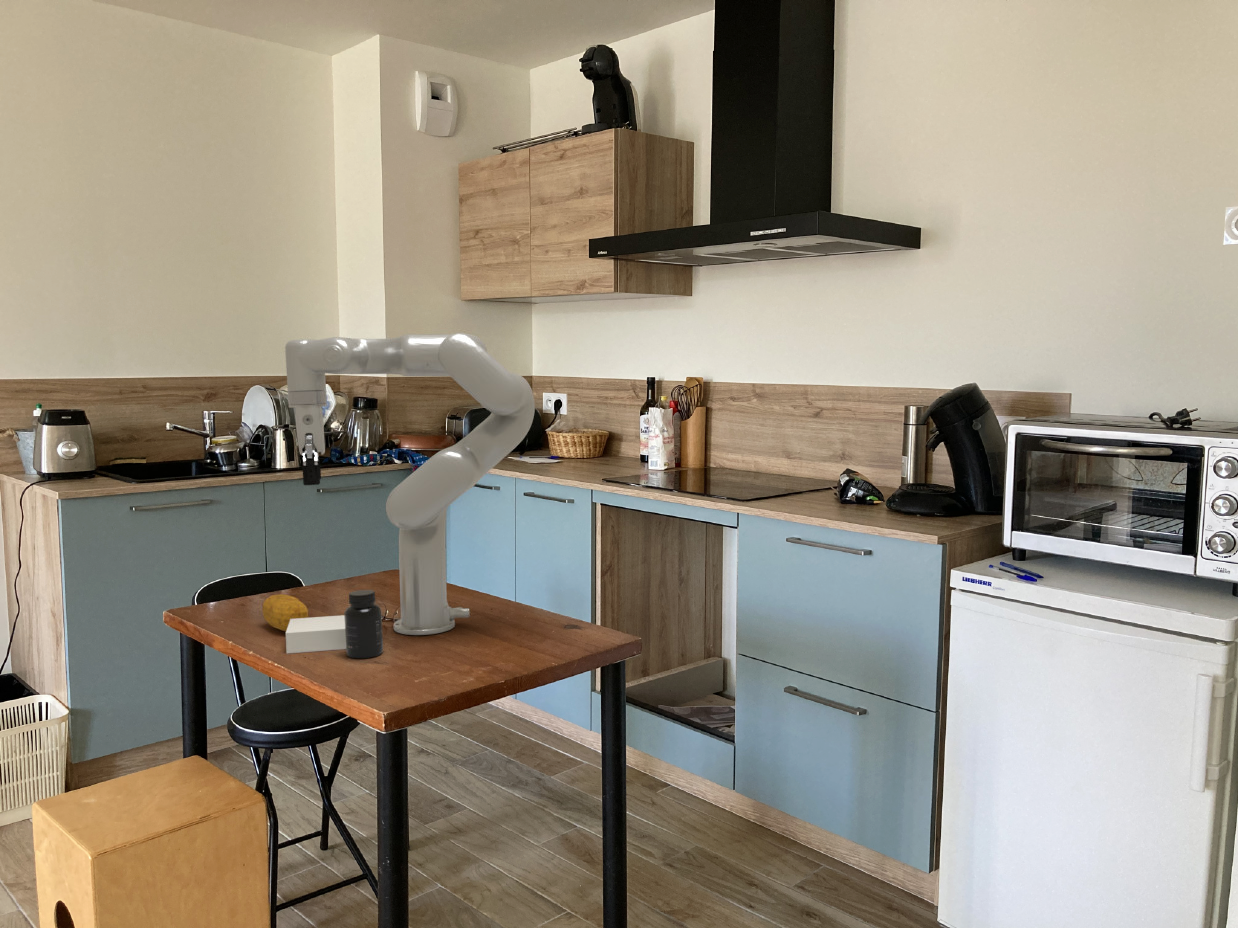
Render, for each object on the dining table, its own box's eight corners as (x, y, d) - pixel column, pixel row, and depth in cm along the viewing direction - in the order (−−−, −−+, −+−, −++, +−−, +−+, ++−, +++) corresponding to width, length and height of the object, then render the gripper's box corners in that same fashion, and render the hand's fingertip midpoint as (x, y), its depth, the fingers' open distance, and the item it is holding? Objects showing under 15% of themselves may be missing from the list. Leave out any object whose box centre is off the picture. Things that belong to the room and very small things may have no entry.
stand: (347, 634, 196) (347, 614, 195) (346, 648, 185) (345, 628, 185) (291, 638, 193) (290, 618, 193) (286, 653, 182) (285, 633, 182)
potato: (291, 619, 208) (290, 588, 207) (316, 633, 196) (315, 600, 196) (258, 625, 203) (256, 593, 203) (281, 640, 192) (279, 605, 191)
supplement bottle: (368, 646, 186) (366, 586, 185) (390, 653, 182) (388, 591, 181) (338, 655, 181) (336, 593, 180) (360, 661, 177) (357, 598, 176)
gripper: (325, 400, 189) (330, 485, 191) (327, 398, 206) (331, 477, 207) (286, 401, 187) (291, 488, 189) (290, 399, 204) (295, 479, 205)
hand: (312, 482), depth 198 cm, fingers open, 9 cm apart
